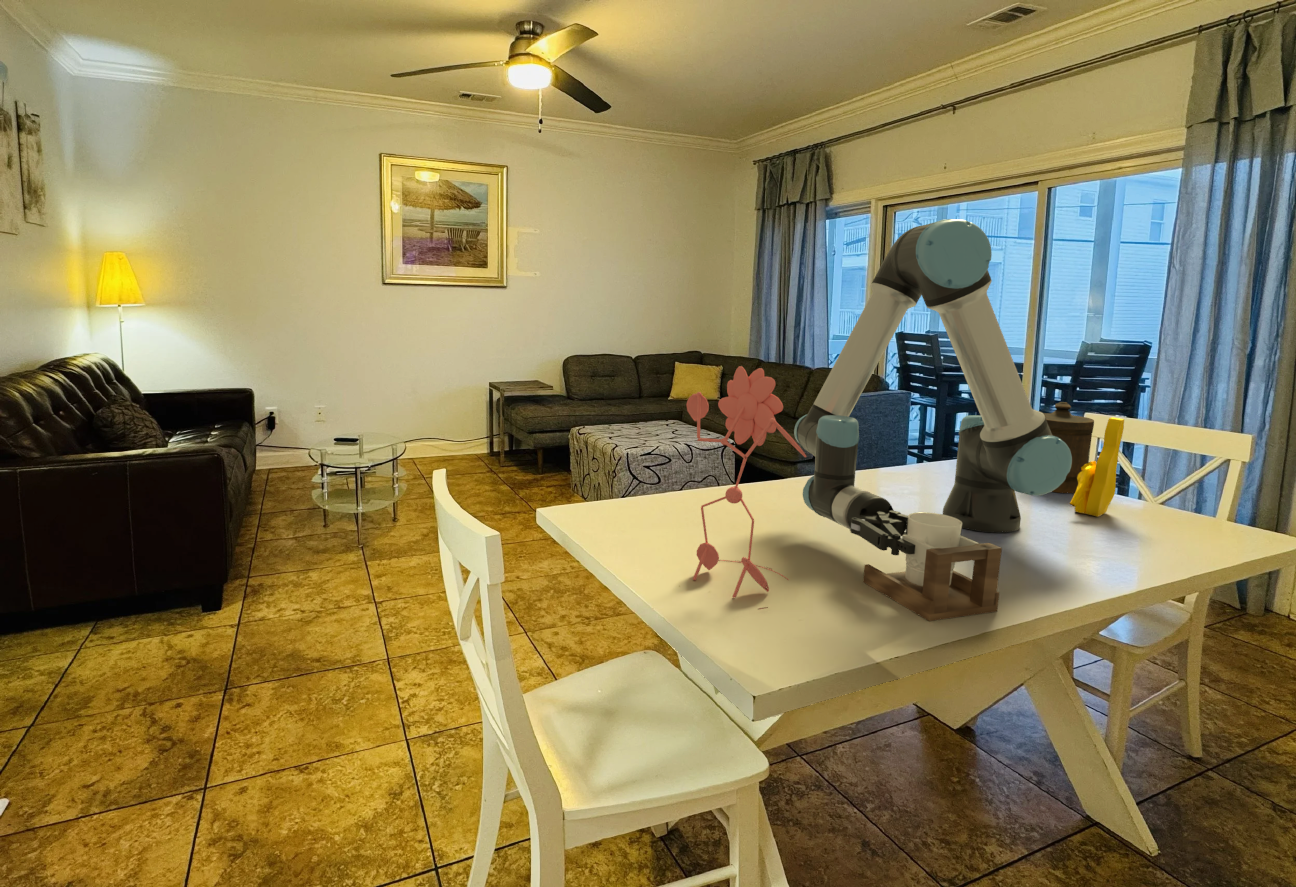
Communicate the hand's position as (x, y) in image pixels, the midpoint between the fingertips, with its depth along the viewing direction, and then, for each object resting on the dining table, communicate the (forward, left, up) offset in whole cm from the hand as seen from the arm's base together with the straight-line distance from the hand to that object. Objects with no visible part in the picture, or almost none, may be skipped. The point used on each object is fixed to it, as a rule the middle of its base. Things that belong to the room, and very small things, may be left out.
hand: (954, 554), depth 112 cm
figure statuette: (-48, -61, -9) cm, 78 cm away
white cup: (+2, -4, -6) cm, 8 cm away
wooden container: (-50, -87, -9) cm, 101 cm away
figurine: (+31, -7, -9) cm, 33 cm away
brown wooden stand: (+2, -4, -8) cm, 10 cm away
